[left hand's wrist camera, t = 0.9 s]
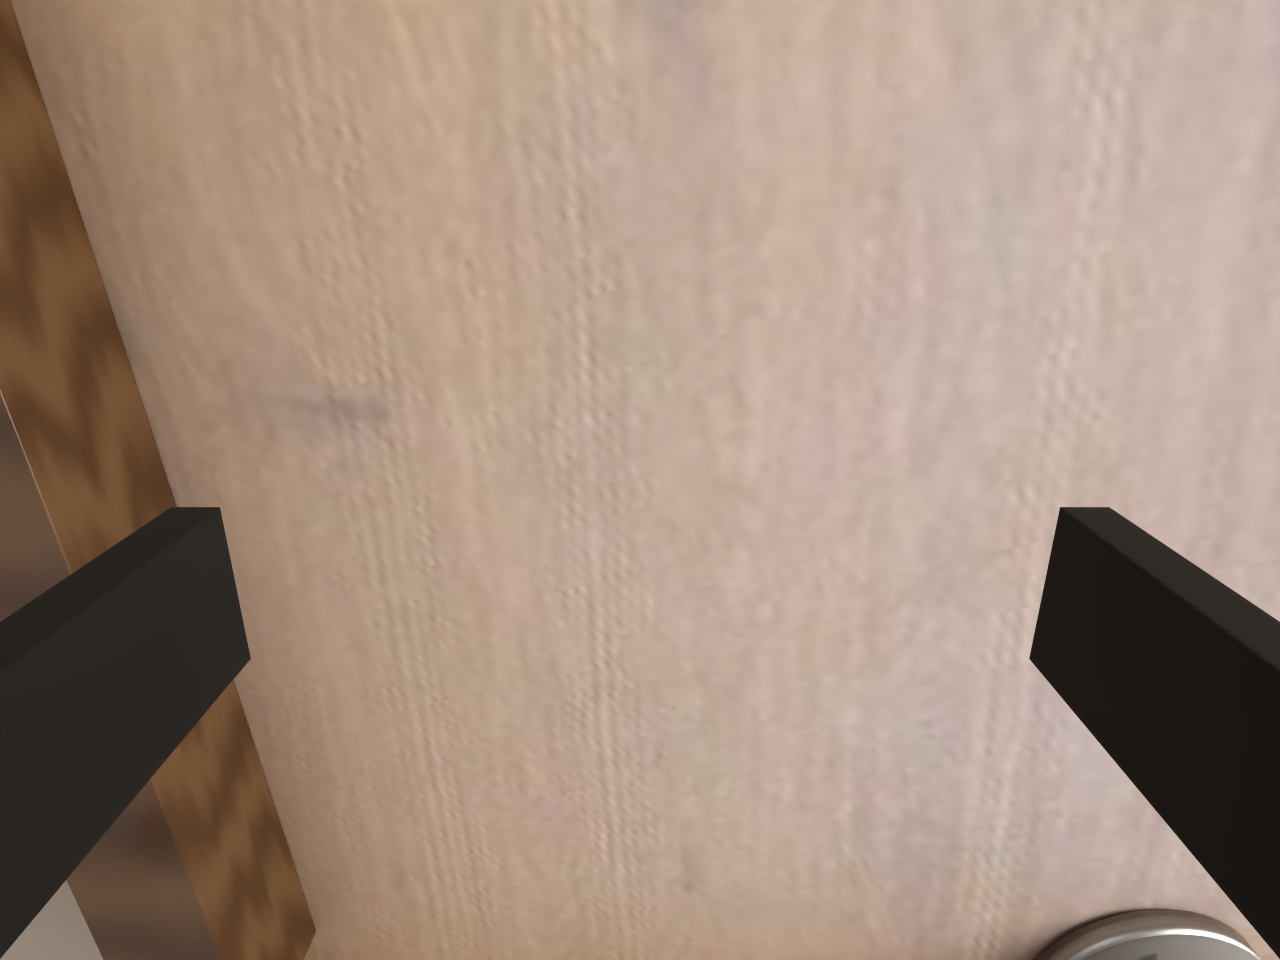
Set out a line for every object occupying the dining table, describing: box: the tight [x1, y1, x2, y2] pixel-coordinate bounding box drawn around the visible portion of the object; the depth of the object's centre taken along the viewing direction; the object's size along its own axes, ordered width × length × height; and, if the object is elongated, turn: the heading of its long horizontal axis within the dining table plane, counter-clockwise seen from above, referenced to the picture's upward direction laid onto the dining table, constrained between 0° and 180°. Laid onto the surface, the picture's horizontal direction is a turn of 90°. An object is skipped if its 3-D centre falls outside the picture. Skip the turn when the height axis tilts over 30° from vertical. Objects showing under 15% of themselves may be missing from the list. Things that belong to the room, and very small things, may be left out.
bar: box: [0, 0, 316, 960], centre depth 34 cm, size 54×6×7 cm, turn 6°
